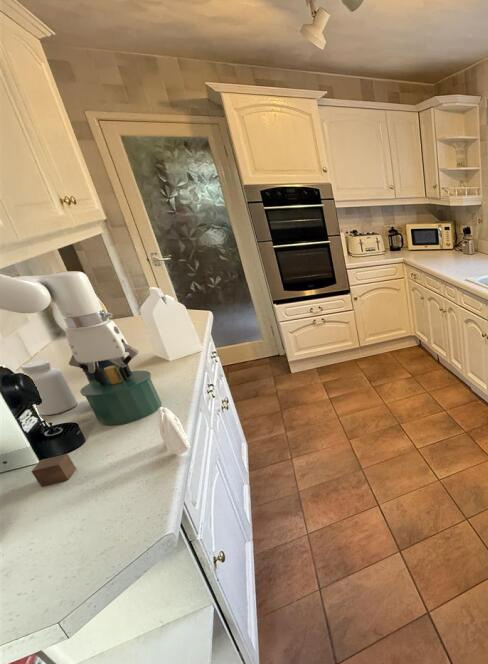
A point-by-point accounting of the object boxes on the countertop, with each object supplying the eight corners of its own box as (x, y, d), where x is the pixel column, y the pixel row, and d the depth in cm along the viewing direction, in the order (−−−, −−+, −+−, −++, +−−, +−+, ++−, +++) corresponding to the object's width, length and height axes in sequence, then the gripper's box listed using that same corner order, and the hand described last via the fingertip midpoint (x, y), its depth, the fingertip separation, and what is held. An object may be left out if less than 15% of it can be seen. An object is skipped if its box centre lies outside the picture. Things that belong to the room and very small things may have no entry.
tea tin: (91, 431, 106) (74, 400, 102) (109, 407, 117) (94, 379, 113) (155, 417, 112) (141, 387, 108) (166, 396, 123) (154, 369, 119)
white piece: (193, 453, 96) (177, 415, 92) (172, 462, 94) (153, 423, 89) (185, 433, 104) (170, 397, 100) (165, 441, 101) (148, 404, 97)
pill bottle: (82, 406, 119) (57, 361, 112) (43, 419, 112) (15, 372, 106) (74, 399, 122) (50, 355, 116) (36, 411, 116) (9, 365, 110)
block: (41, 487, 87) (30, 471, 85) (50, 475, 90) (41, 459, 88) (68, 480, 89) (58, 464, 87) (76, 468, 92) (67, 453, 90)
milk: (155, 355, 153) (127, 290, 143) (189, 344, 162) (165, 283, 152) (170, 361, 148) (142, 293, 137) (204, 350, 157) (180, 286, 146)
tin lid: (72, 404, 102) (61, 385, 100) (94, 381, 114) (85, 363, 112) (144, 390, 108) (135, 371, 106) (157, 369, 120) (150, 352, 118)
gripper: (132, 310, 110) (157, 369, 117) (48, 321, 102) (81, 383, 110) (123, 318, 104) (150, 379, 111) (34, 330, 96) (69, 394, 104)
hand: (116, 380), depth 110 cm, fingers open, 4 cm apart
